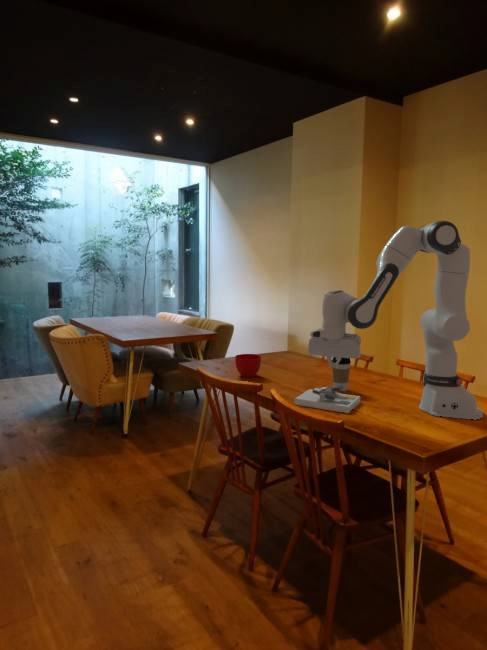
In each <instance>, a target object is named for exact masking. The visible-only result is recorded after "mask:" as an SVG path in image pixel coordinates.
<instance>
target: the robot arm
mask: <svg viewBox="0 0 487 650" xmlns="http://www.w3.org/2000/svg"><path fill="white" fill-rule="evenodd" d="M419 251H420V252H423V253H427V254H428V253H429V254H430V253H431V254H432V253H433V254H436V256H437V261H438V262H437V263H438V265H437V269H436V274H435V280H434V287H433V295H434V299H435V307H434V308H431V309H427V310H425V311H424V312H423V313H422V314H421V317H420V325H421V329H422V332H423V336H424V337H423V338H424V346H425V371H424V373H423V379H422V386H423V390H422V395H421V399H420V403H419V405H418V408H419V409H420V410H421V411H423V412H425V413H428V414H430V415H432V416H433V415H434V417H440V416H442V418H450V417H451V418H452V419H461V418H462V419H461V420H463V419H464V420H471V419H473V420H474V421H478V420H477V419H479V420H481V419H482V418H483V417H484V411H483V410H482V409H481V408H480V407H478V402H477V399H476V397H475V395H473V394H472V393H471V392H470V391H469V390H468V389H466V387H464V386H463V385H462V384H463V378H462V376H460V375H458V374H457V372H458V371H457V370H458V352H457V351H456V347H455V342H458V341H461V340H463V339H465V338H466V337H467V336H468V334H469V333H470V328H471V327H470V326H471V324H470V322H469V320H468V316H467V311H466V310H467V306H466V305H467V304H466V293H467V286H468V280H469V276H470V275H469V274H470V269H471V268H470V267H471V266H470V265H471V251H470V248H469V247H468V246H467V245H465V244H464V243H462V240H461V238H460V234H459V229H458V228H457V225H455V224H454V223H452V222H450V221H448V220H438V221H433V222H430V223H428V224H426V225H422V226H421V227H419V228H416V227H415V226H412V225H403V226H401V227H399V229H398V230H396V231H395V233H393V235H392V236H391V237H390V238H389V239H388V241H387V242H386V243H385V245H384V246H383V248H382V250H381V251H380V253H379V255H378V257H377V260H376V261H375V263H376V276H375V278H374V280H373V282H372V283H371V285H370V286H369V288H368V289H367V291H366V292H365V294H364V295H363V297H361V298H357V297H355V296H352V295H351V294H349V293H346V292H345V291H344V290H333V291H329V292H327V293H325V295H323V300H322V314H321V315H322V319H323V321H322V323H321V324H322V328H317V329H315V330H313V331H311V332H310V334H309V336H310V338H309V340H308V345H307V352H308V354H309V355H310V356H316V357H317V356H318V357H326V360H327V362H328V363H329V368H330V369H332V368H338V363H339V362H340V360H341V358H350V359H353V360H354V359H355V360H357V359H359V358H360V357H361V355H362V354H361V343H362V341H361V340H362V339H361V336H360V335H358V334H357V333H346V332H347V331H346V329H347V327H346V325H347V323H350V324H351V326H353V327H354V328H356V329H359V330H360V329H361V330H364V329H365V330H366V329H369V328H370V327H372V326H373V325H374V323H375V322H376V320H377V317H378V313H379V312H378V311H379V308H380V306H381V304H382V302H383V301H384V299H385V297H386V296H387V294H388V293H389V291H390V289H391V288H392V286H393V285H394V283H395V282H396V280H397V279H398V278H399V277H400V276H401V274H402V273H403V272H404V271H405V269H406V268H407V267H408V265H409V264H410V263H411V261H412V260H413V258H414V256H415V255H416V254H417V253H418V252H419ZM333 357H336V360H337V362H336V363H333V362H332V360H333ZM480 418H481V419H480Z"/></svg>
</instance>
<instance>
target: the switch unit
mask: <svg viewBox="0 0 487 650" xmlns="http://www.w3.org/2000/svg"><path fill="white" fill-rule="evenodd" d="M330 387H334V385H330ZM324 391H327V392H330V393H333V394H335V395H337V398H336V399H335V400H331V399H329V398H326V397H325V394H322V393H320V395H318V394H315V393H312V392H313V389H311V388H310V389H308V390H306V391H304V392H302V394H300V395H298V396H296V397H294V405H295V404H296V406H302V407H308V408H314V409H321V410H327V411H332V412H337V413H338V412H339V413H343V412H344V413H345V414H349V413H351V412H352V411H351V410H352V409H353V410H354V409H355V408H356V407H357V406H358V405H359V404H360V403H361V396H360V395H355V394H354V395H353V394H346V393H339V392H337V391H332V389H326V390H324ZM350 411H351V412H350Z"/></svg>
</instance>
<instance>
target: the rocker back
mask: <svg viewBox="0 0 487 650" xmlns="http://www.w3.org/2000/svg"><path fill="white" fill-rule="evenodd" d="M333 386H334V385H333ZM320 389H322V390H326V389H332V391H336V392H341V391H340V390H342V389H343V386H334V387H331V386H324V387H320Z"/></svg>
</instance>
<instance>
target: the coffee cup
mask: <svg viewBox="0 0 487 650" xmlns="http://www.w3.org/2000/svg"><path fill="white" fill-rule="evenodd" d="M331 360H332V362H333V363H336V362H337V360H336V357H332V359H331ZM351 364H352V361H351V358H341V360H340V362H339V363H338V368H331V369H332V380H333V386H343V389H342V390H340V391H339V392H347V391H348V386H349V378H350V371H351V367H350V366H351Z"/></svg>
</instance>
